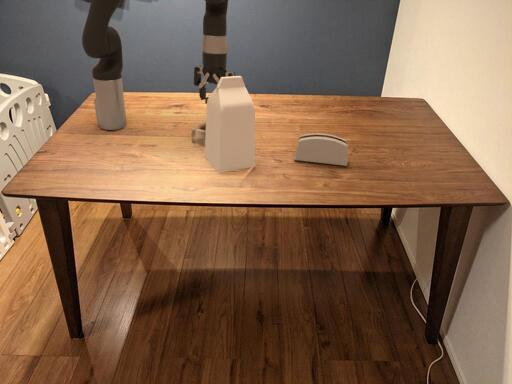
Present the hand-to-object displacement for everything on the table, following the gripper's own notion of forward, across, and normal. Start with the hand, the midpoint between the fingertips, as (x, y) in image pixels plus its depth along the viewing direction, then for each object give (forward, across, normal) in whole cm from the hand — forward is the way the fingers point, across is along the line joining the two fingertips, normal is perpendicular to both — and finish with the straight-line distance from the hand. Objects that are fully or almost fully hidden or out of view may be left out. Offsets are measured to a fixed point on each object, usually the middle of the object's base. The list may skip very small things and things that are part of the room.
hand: (214, 101), depth 132 cm
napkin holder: (+14, +37, +4) cm, 40 cm away
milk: (+14, +13, -12) cm, 22 cm away
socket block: (+14, 0, 0) cm, 14 cm away
